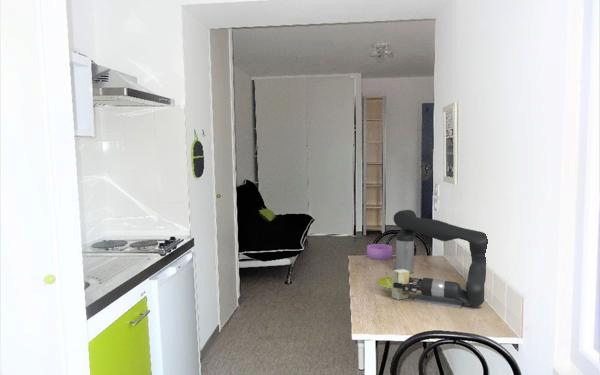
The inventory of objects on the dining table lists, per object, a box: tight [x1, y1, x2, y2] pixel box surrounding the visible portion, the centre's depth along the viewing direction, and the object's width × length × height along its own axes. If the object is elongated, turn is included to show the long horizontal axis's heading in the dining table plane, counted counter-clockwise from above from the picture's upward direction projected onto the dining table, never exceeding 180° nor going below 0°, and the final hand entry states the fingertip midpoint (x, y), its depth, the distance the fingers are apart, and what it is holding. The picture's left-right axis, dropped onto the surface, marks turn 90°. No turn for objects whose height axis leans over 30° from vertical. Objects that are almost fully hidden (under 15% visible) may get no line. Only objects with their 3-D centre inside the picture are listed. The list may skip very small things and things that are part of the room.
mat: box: [413, 291, 464, 309], centre depth 197 cm, size 16×19×1 cm
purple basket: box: [366, 243, 393, 261], centre depth 274 cm, size 25×15×13 cm, turn 77°
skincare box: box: [391, 269, 410, 301], centre depth 198 cm, size 6×4×12 cm
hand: (395, 282), depth 199 cm, fingers closed on skincare box, 7 cm apart
